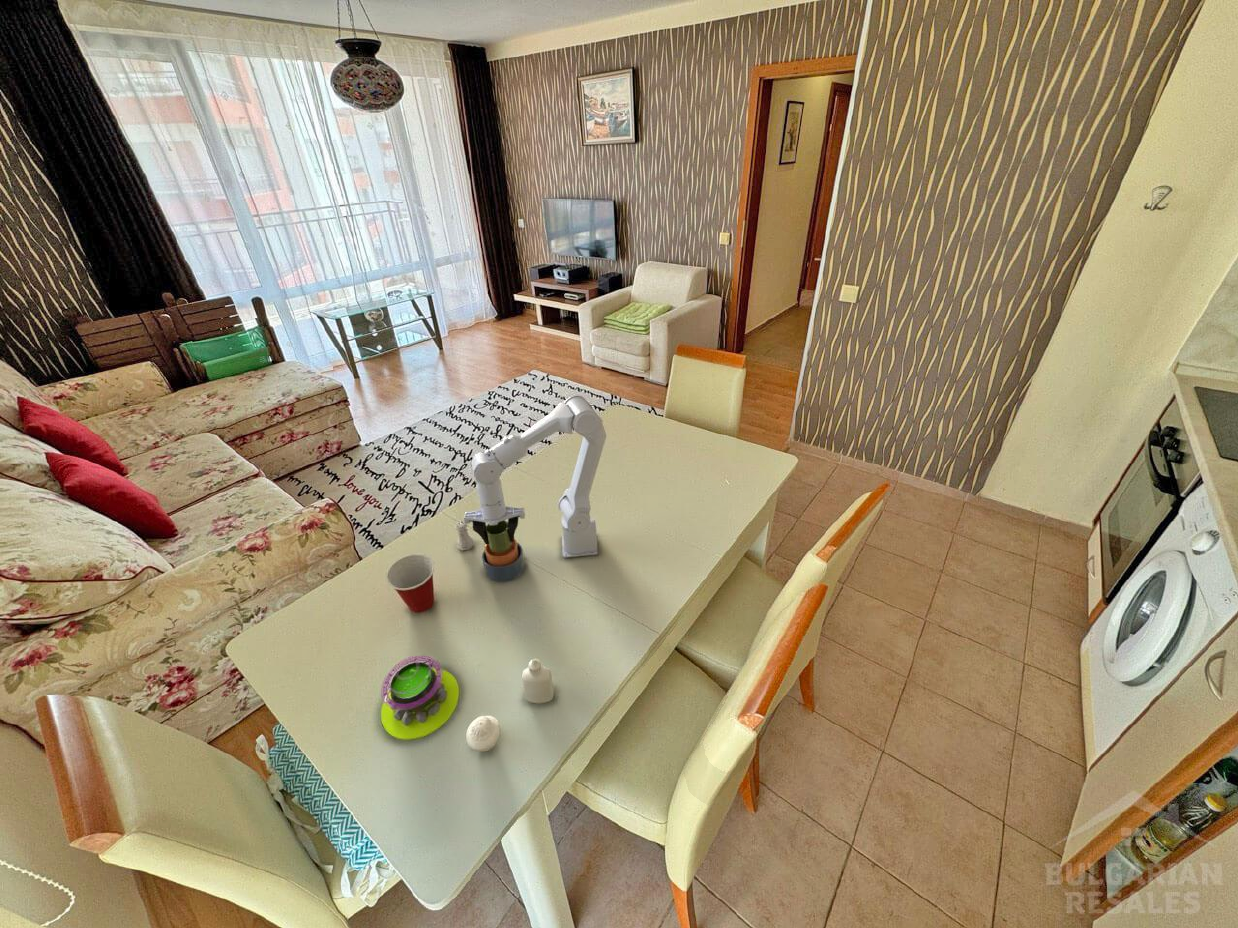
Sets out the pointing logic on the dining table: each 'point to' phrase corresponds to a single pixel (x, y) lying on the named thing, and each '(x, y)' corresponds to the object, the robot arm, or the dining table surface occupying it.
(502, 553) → the stack mid
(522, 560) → the stack big
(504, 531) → the olive cup
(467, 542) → the rook chess piece
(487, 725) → the white rounded egg shape
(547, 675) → the eye dropper bottle
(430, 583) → the plastic cup
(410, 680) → the toy cauldron
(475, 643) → the dining table surface
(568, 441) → the dining table surface
